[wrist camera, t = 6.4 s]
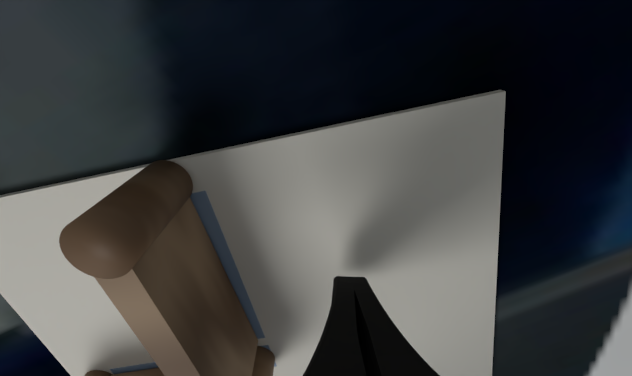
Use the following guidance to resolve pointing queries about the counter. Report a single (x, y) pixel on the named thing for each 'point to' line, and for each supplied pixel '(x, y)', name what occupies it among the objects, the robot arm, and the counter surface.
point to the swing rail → (164, 274)
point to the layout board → (300, 238)
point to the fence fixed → (261, 372)
